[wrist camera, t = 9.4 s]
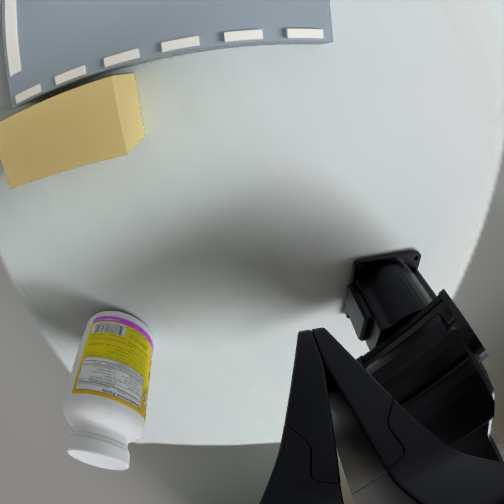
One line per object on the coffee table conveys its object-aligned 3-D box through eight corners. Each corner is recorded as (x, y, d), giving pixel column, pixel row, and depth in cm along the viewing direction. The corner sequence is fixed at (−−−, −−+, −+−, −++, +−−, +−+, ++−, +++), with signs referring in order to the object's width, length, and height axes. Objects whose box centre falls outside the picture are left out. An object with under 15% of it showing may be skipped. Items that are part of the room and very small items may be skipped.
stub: (134, 73, 14) (111, 75, 11) (145, 135, 16) (127, 154, 13) (27, 111, 14) (-9, 126, 10) (41, 164, 16) (10, 189, 13)
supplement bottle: (127, 360, 28) (111, 475, 18) (76, 325, 25) (41, 446, 14) (169, 337, 26) (160, 471, 16) (114, 295, 23) (76, 440, 12)
